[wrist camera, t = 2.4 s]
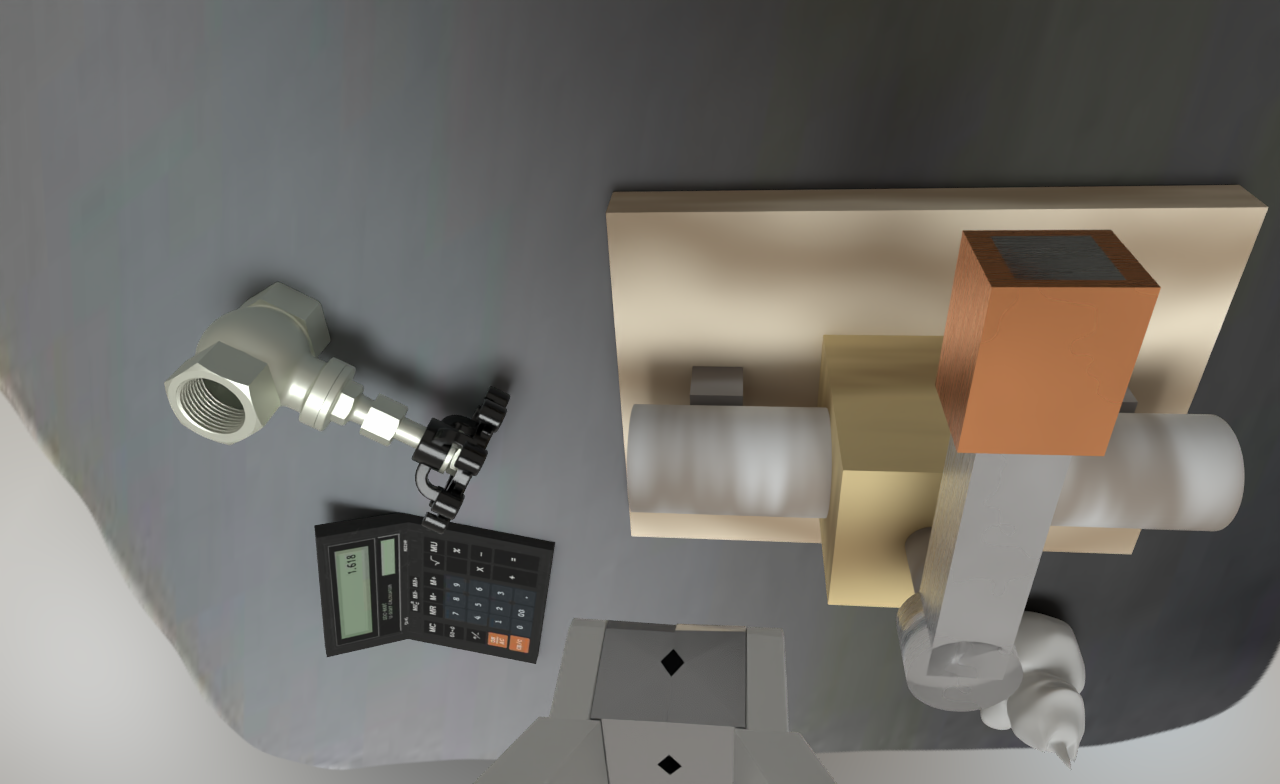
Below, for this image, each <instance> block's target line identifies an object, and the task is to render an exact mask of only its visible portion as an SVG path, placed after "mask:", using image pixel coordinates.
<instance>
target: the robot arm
mask: <svg viewBox="0 0 1280 784" xmlns="http://www.w3.org/2000/svg"><path fill="white" fill-rule="evenodd" d="M473 784H837V783H836V782H835V780H834V779H833V777H832V776H831V775H830V773H829V772H828V771H827V769H826V768H825V766H824V765H823V764H822V762H821V761H820V760H819V758H818V757H817V756H816V754H815V753H814V751H813V750H812V749H811V747H810V746H809V745H808V743H807V742H806V740H805V739H804V738H803V736H802V735H801V734H800V733H797V732H789V721H788V701H787V681H786V661H785V640H784V633H783V630H782V629H781V628H760V627H747V628H745V626H725V625H695V624H677V625H668V624H654V623H641V622H627V621H613V620H595V619H578V618H574V619H573V621H572V623H571V625H570V627H569V630H568V634H567V639H566V643H565V648H564V652H563V657H562V661H561V666H560V670H559V675H558V679H557V684H556V688H555V693H554V697H553V702H552V706H551V711H550V715H549V717H538V718H537V719H536V720H535V721H534V722H533V723H532V724H531V725H530V726H529V727H528V728H527V729H526V730H525V731H524V732H523V733H522V734H521V735H520V737H519V738H518V739H517V740H516V741H515V742H514V743H513V744H512V745H511V746H510V747H509V748H508V749H507V750H506V751H505V752H504V753H503V754H502V755H501V756H500V757H499V758H498V759H497V760H496V761H495V762H494V763H493V764H492V765H491V766H490V767H489V768H488V769H487V770H486V771H485V772H484V773H483V774H482V775H481V776H480V777H479V778H478V779H477V780H476V781H475V782H474V783H473Z"/></svg>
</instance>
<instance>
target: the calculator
mask: <svg viewBox="0 0 1280 784" xmlns="http://www.w3.org/2000/svg"><path fill="white" fill-rule="evenodd" d="M423 518H424V517H421V516H416V515H411V514H405V513H395V514H388V515H381V516H375V517H368V518H361V519H355V520H348V521H341V522H334V523H328V524H321V525H314V526H315V537H316V548H317V560H318V571H319V582H320V594H321V605H322V616H323V627H324V639H325V648H326V654H327V657H330V656H334V655H339V654H343V653H348V652H352V651H356V650H361V649H365V648H370V647H374V646H379V645H383V644H387V643H392V642H396V641H401V640H405V639H411V640H417V641H422V642H427V643H432V644H437V645H442V646H447V647H452V648H457V649H462V650H468V651H473V652H478V653H483V654H488V655H493V656H498V657H503V658H508V659H514V660H519V661H524V662H529V663H534V664H536V661H537V657H538V652H539V645H540V638H541V632H542V625H543V618H544V612H545V605H546V598H547V592H548V585H549V578H550V572H551V565H552V558H553V552H554V545H555V542H550V541H545V540H539V539H534V538H529V537H524V536H519V535H514V534H509V533H503V532H498V531H493V530H488V529H483V528H478V527H472V526H467V525H462V524H457V523H452V522H449V524H448V526H447V528H446V530H445V531H444V533H443V534H439V533H436V532H434V531H432V530H430V529H427V528H425V527H423V526H421V523H422V521H423Z"/></svg>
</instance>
